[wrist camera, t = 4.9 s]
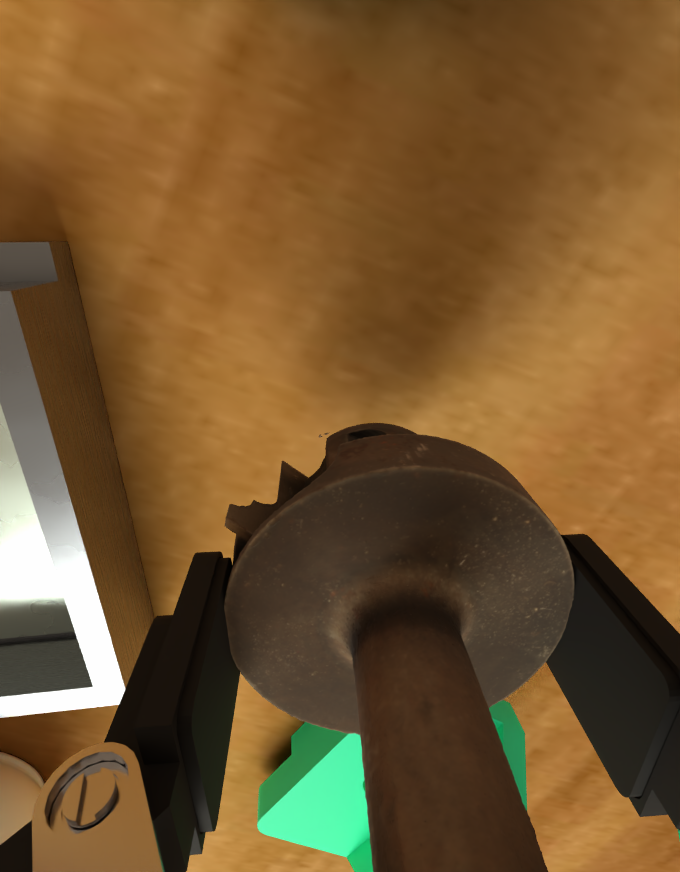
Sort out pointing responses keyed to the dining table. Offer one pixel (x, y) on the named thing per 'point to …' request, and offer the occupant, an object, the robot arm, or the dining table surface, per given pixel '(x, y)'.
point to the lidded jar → (16, 794)
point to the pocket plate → (60, 502)
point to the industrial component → (405, 631)
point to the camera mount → (346, 789)
